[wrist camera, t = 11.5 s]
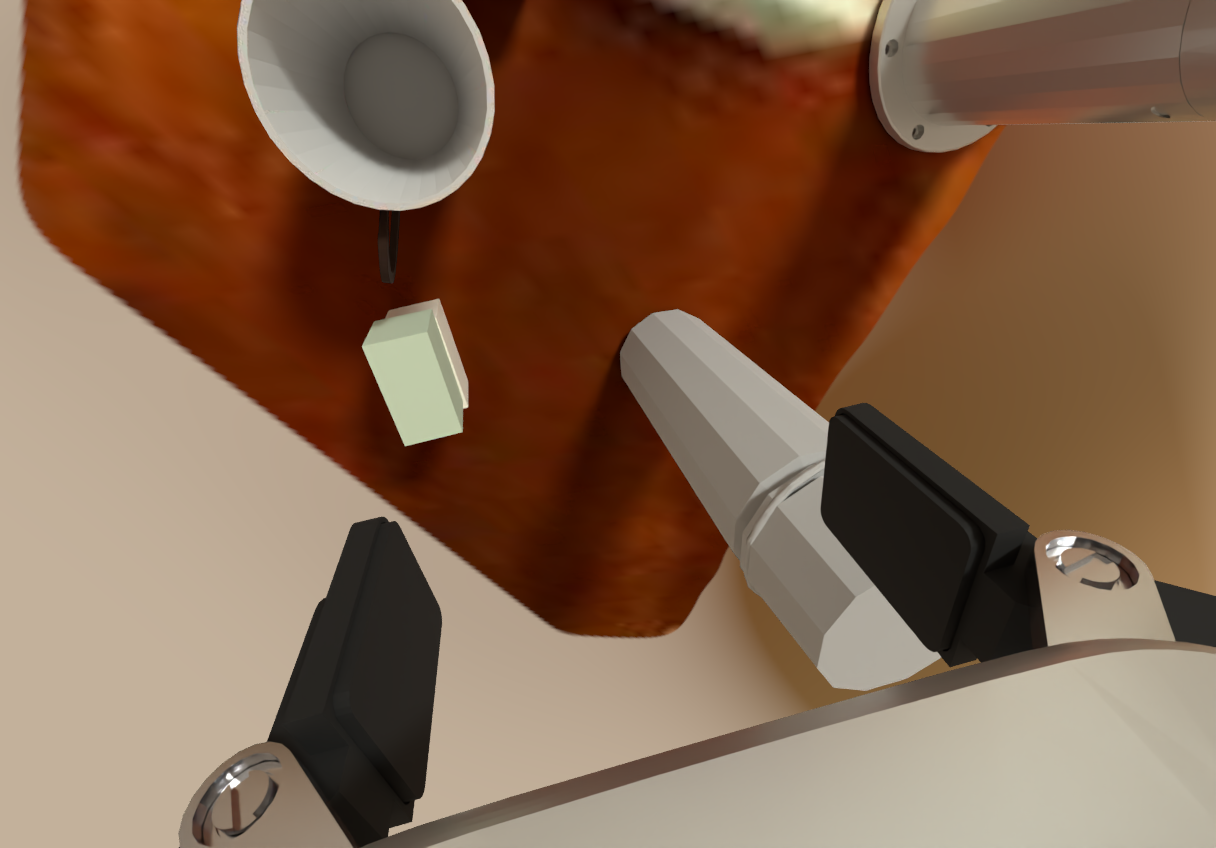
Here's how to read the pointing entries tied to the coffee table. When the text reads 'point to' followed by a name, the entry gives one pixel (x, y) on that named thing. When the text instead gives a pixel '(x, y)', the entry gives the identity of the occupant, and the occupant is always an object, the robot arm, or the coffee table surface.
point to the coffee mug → (371, 98)
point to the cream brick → (446, 338)
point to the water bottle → (767, 495)
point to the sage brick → (415, 376)
